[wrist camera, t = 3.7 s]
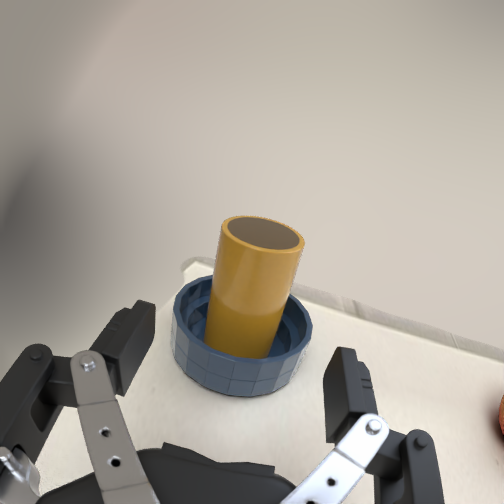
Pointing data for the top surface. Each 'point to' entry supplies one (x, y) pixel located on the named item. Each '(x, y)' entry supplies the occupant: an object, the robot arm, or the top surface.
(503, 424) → the apple
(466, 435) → the top surface
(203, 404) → the top surface
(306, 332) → the bowl
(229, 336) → the cup
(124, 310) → the robot arm
